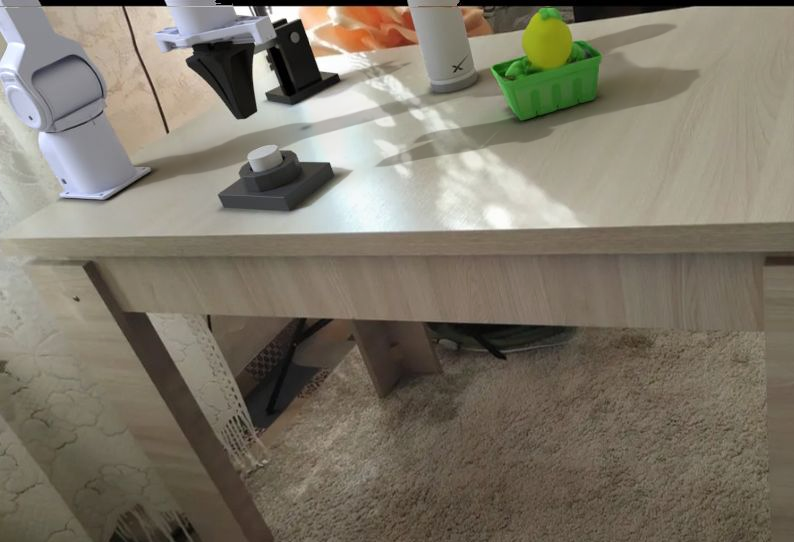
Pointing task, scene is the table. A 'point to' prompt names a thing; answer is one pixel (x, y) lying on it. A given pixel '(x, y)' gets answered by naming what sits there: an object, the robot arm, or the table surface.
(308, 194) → the push button base
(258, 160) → the white push button
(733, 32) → the table surface
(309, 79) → the black lever base
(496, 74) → the fruit basket
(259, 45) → the flush lever
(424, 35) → the travel mug
